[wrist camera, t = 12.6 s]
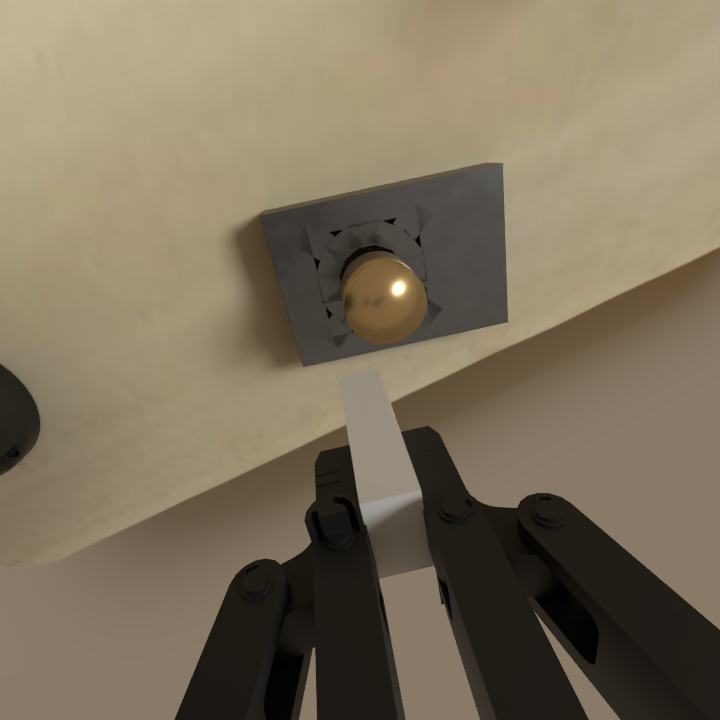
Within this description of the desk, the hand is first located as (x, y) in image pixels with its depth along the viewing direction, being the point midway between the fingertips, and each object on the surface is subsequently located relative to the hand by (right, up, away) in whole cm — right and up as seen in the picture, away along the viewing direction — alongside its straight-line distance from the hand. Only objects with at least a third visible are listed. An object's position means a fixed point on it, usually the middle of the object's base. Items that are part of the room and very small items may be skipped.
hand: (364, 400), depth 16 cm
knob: (+1, +10, +24) cm, 26 cm away
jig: (+3, +11, +24) cm, 26 cm away
